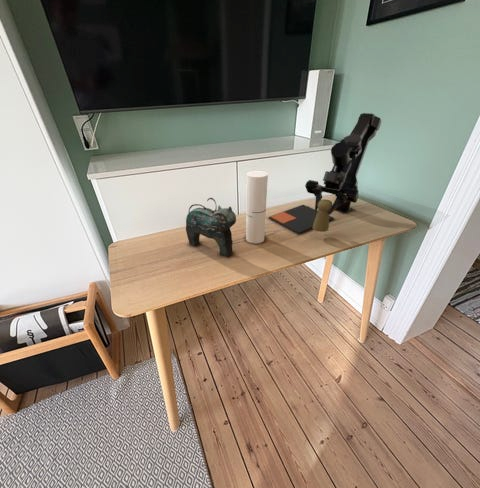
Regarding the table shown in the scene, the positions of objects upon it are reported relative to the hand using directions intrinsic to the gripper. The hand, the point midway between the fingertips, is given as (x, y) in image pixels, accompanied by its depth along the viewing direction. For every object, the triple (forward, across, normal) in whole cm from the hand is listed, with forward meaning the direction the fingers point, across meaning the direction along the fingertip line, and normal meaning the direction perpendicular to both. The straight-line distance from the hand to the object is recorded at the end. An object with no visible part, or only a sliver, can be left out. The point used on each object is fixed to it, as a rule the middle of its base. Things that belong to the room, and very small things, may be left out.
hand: (322, 212), depth 94 cm
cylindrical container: (+18, -20, -2) cm, 27 cm away
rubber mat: (0, -12, +16) cm, 20 cm away
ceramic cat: (+29, -30, -14) cm, 43 cm away
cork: (+4, 0, +6) cm, 7 cm away
